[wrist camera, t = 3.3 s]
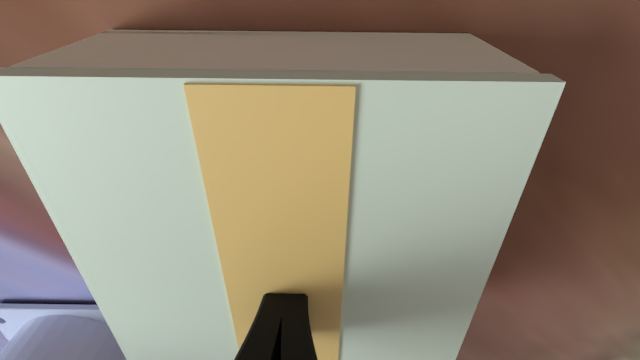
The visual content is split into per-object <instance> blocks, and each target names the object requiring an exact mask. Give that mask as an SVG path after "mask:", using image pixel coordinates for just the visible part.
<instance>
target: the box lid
mask: <svg viewBox="0 0 640 360" xmlns="http://www.w3.org/2000/svg"><path fill="white" fill-rule="evenodd" d="M565 84H566V82H565V81H563V80H561V79H559V78H558V77H556V76H554V75H552V74H537V73H446V72H355V71H264V70H173V69H82V68H0V123H1V125H2V127H3V129H4V131H5V133H6V135H7V136H8V138H9V140H10V142H11V144H12V146H13V148H14V150H15V151H16V153H17V155H18V157H19V159H20V161H21V163H22V165H23V166H24V168H25V170H26V172H27V174H28V176H29V178H30V180H31V181H32V183H33V185H34V187H35V189H36V191H37V193H38V195H39V196H40V198H41V200H42V202H43V204H44V206H45V208H46V210H47V211H48V213H49V215H50V217H51V219H52V221H53V223H54V225H55V226H56V228H57V230H58V232H59V234H60V236H61V238H62V240H63V241H64V243H65V245H66V247H67V249H68V251H69V253H70V255H71V256H72V258H73V260H74V262H75V264H76V266H77V268H78V270H79V271H80V273H81V275H82V277H83V279H84V281H85V283H86V285H87V286H88V288H89V290H90V292H91V294H92V296H93V298H94V300H95V301H96V303H97V305H98V307H99V309H100V311H101V313H102V315H103V316H104V318H105V320H106V322H107V324H108V326H109V328H110V330H111V331H112V333H113V335H114V337H115V339H116V341H117V343H118V345H119V346H120V348H121V350H122V352H123V354H124V356H125V358H126V360H234V359H235V357H236V355H237V353H238V351H239V349H240V347H241V345H242V344H243V342H244V340H245V338H246V336H247V334H248V331H249V329H250V327H251V325H252V323H253V321H254V318H255V316H256V314H257V311H258V309H259V306H260V304H261V301H262V298H263V295H265V294H266V293H293V294H306V295H307V296H308V313H309V321H310V327H311V333H312V338H313V343H314V347H315V351H316V355H317V359H318V360H456V357H457V355H458V352H459V350H460V347H461V345H462V342H463V340H464V337H465V335H466V332H467V330H468V327H469V325H470V322H471V320H472V317H473V315H474V312H475V310H476V307H477V305H478V302H479V300H480V297H481V295H482V292H483V290H484V287H485V285H486V282H487V280H488V277H489V275H490V272H491V270H492V267H493V265H494V262H495V260H496V257H497V255H498V252H499V250H500V247H501V245H502V242H503V240H504V237H505V235H506V232H507V230H508V227H509V225H510V222H511V220H512V217H513V215H514V212H515V209H516V207H517V204H518V202H519V199H520V197H521V194H522V192H523V189H524V187H525V184H526V182H527V179H528V177H529V174H530V172H531V169H532V167H533V164H534V162H535V159H536V157H537V154H538V152H539V149H540V147H541V144H542V142H543V139H544V137H545V134H546V132H547V129H548V127H549V124H550V122H551V119H552V117H553V114H554V112H555V109H556V107H557V104H558V102H559V99H560V97H561V94H562V92H563V89H564V87H565Z"/></svg>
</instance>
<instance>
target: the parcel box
mask: <svg viewBox="0 0 640 360" xmlns="http://www.w3.org/2000/svg"><path fill="white" fill-rule="evenodd" d="M9 67H10V68H82V69H173V70H264V71H355V72H446V73H537V74H539V72H538V71H536V70H535V69H533V68H531V67H529V66H528V65H526V64H524V63H522V62H520V61H519V60H517V59H515V58H513V57H511V56H510V55H508V54H506V53H504V52H503V51H501V50H499V49H497V48H495V47H494V46H492V45H490V44H488V43H486V42H485V41H483V40H481V39H479V38H478V37H476V36H474V35H472V34H470V33H387V32H292V31H198V30H108V31H105V32H102V33H100V34H97V35H94V36H91V37H89V38H86V39H83V40H80V41H78V42H75V43H72V44H69V45H67V46H64V47H61V48H59V49H56V50H53V51H50V52H48V53H45V54H42V55H39V56H37V57H34V58H31V59H28V60H26V61H23V62H20V63H17V64H15V65H12V66H9Z"/></svg>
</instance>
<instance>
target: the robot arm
mask: <svg viewBox="0 0 640 360" xmlns="http://www.w3.org/2000/svg"><path fill="white" fill-rule="evenodd" d="M0 331H1V332H2V333H3V334H4V336H5V337H6V338H7V339H8V341H9V342H8V343H7V345H6V346H5V347H4V348H3V350H2V351H1V352H0V360H126V358H125V356H124V354H123V352H122V350H121V348H120V346H119V345H118V343H117V341H116V339H115V337H114V335H113V333H112V331H111V330H110V328H109V326H108V324H107V322H106V320H105V318H104V316H103V315H102V313H101V311H100V309H99V307H98V305H78V304H3V303H0ZM234 360H318V359H317V355H316V351H315V347H314V343H313V338H312V333H311V327H310V321H309V313H308V296H307V295H306V294H293V293H266V294H265V295H263V298H262V301H261V304H260V306H259V309H258V311H257V314H256V316H255V318H254V321H253V323H252V325H251V327H250V329H249V331H248V334H247V336H246V338H245V340H244V342H243V344H242V345H241V347H240V349H239V351H238V353H237V355H236V357H235V359H234Z"/></svg>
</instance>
